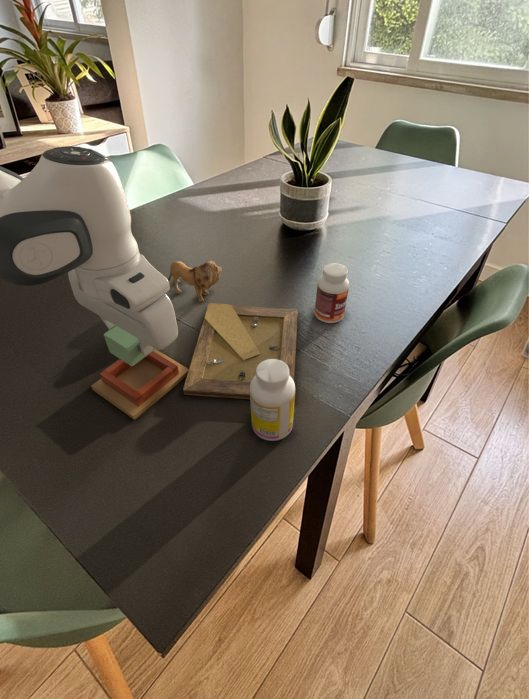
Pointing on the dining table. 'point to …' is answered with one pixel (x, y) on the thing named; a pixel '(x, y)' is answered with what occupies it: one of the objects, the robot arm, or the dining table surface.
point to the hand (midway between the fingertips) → (131, 343)
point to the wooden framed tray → (139, 382)
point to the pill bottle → (332, 293)
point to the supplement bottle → (272, 400)
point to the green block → (124, 345)
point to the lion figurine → (195, 276)
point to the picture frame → (239, 348)
